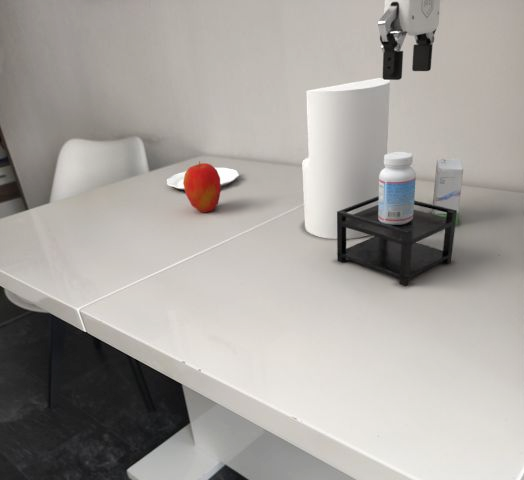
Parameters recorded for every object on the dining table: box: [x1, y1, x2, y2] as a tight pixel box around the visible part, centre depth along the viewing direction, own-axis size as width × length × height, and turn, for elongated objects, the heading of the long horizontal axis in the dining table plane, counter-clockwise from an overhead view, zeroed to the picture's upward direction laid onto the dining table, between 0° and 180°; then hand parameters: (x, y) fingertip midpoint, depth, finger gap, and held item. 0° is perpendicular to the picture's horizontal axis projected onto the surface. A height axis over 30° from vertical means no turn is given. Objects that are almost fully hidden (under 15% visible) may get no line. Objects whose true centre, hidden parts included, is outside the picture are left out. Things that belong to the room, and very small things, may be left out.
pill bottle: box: [378, 151, 417, 225], centre depth 93 cm, size 6×6×11 cm
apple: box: [183, 161, 222, 213], centre depth 132 cm, size 9×9×12 cm
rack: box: [336, 196, 457, 287], centre depth 97 cm, size 16×13×10 cm
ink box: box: [431, 158, 464, 226], centre depth 113 cm, size 8×5×12 cm, turn 168°
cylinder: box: [301, 77, 391, 240], centre depth 111 cm, size 17×17×28 cm
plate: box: [166, 167, 240, 191], centre depth 156 cm, size 21×21×2 cm
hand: (407, 75), depth 90 cm, fingers open, 9 cm apart
